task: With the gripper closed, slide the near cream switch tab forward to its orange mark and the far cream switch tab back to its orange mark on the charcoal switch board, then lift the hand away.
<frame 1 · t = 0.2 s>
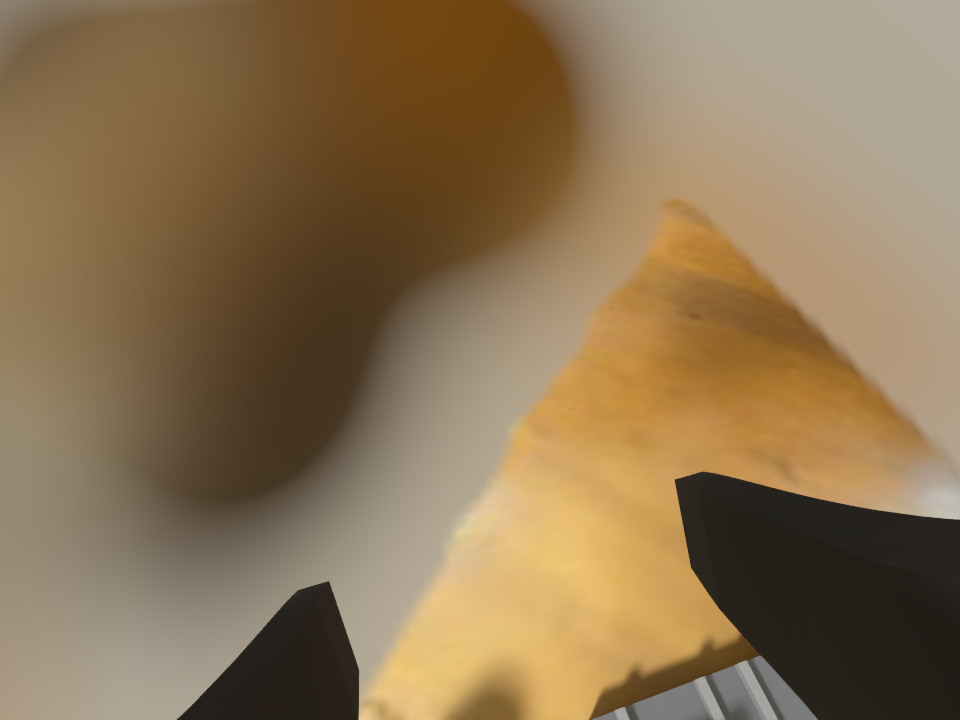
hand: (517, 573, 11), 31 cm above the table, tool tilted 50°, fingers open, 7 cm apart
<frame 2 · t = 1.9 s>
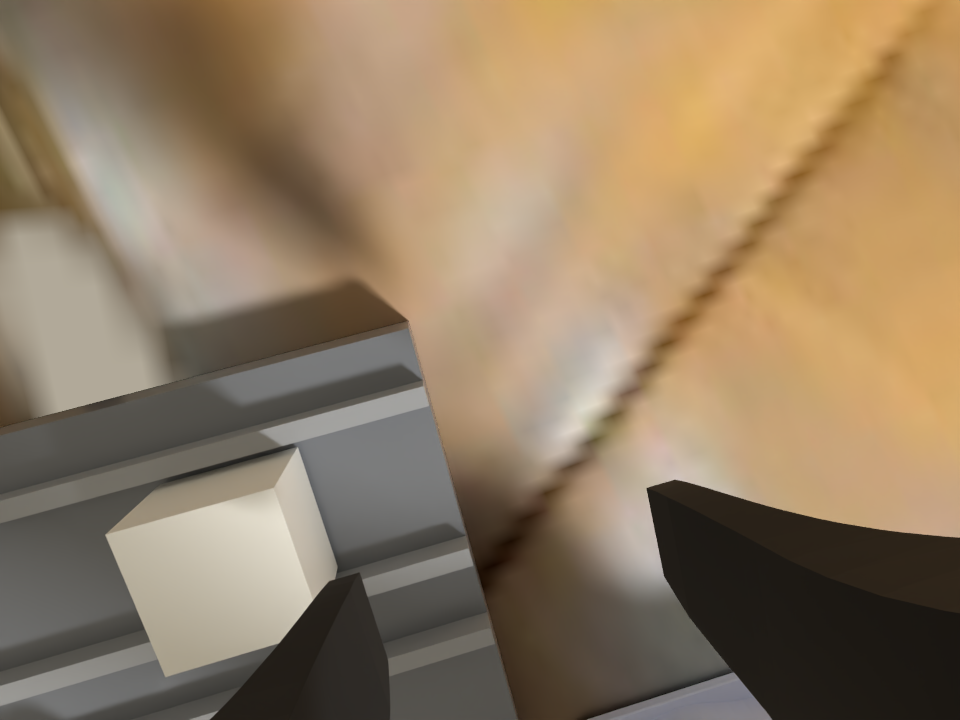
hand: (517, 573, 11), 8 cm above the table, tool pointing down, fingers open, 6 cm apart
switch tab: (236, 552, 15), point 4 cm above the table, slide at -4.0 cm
switch board: (190, 633, 20), on the table
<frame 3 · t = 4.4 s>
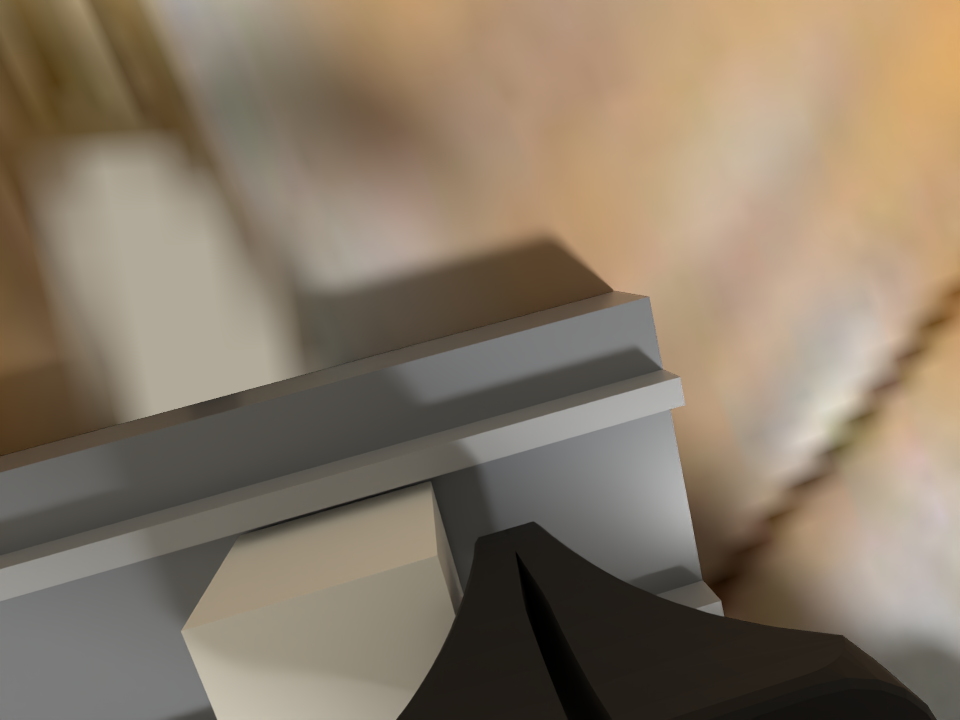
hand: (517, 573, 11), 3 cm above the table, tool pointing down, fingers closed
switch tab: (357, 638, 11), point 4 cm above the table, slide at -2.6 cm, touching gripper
switch board: (316, 705, 15), on the table
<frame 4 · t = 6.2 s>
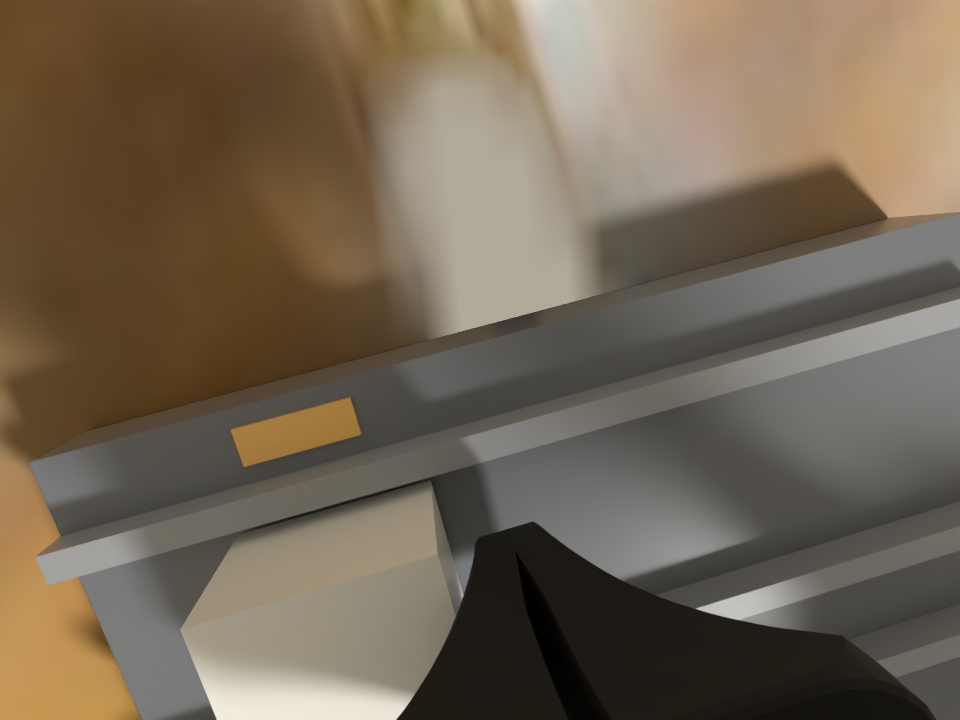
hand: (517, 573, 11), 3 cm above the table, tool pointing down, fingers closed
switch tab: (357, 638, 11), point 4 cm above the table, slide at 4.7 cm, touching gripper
switch board: (582, 622, 15), on the table
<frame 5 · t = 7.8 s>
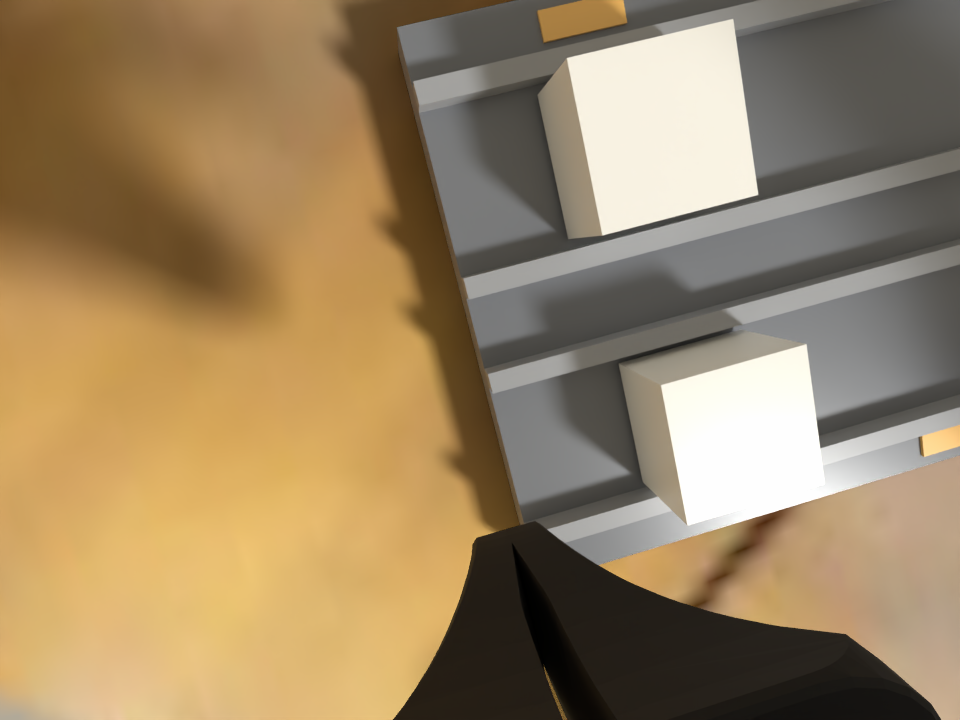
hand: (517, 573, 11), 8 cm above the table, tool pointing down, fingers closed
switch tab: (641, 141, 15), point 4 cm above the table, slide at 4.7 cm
switch board: (749, 250, 20), on the table
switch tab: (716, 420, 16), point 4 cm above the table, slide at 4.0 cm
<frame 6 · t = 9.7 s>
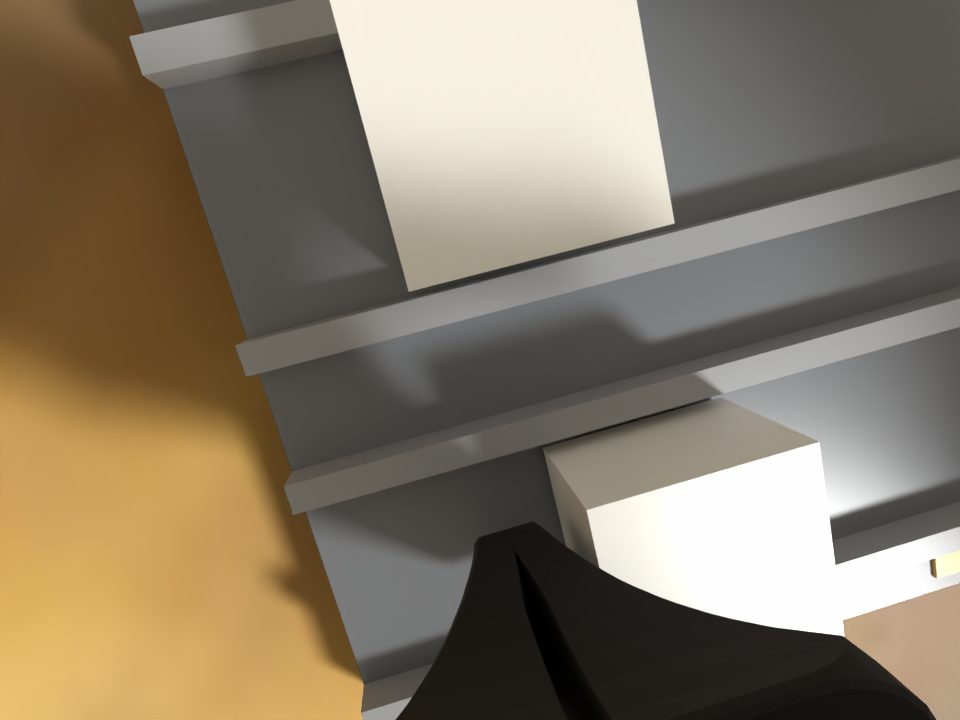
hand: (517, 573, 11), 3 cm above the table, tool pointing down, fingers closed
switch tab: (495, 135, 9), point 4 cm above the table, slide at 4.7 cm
switch board: (695, 289, 14), on the table
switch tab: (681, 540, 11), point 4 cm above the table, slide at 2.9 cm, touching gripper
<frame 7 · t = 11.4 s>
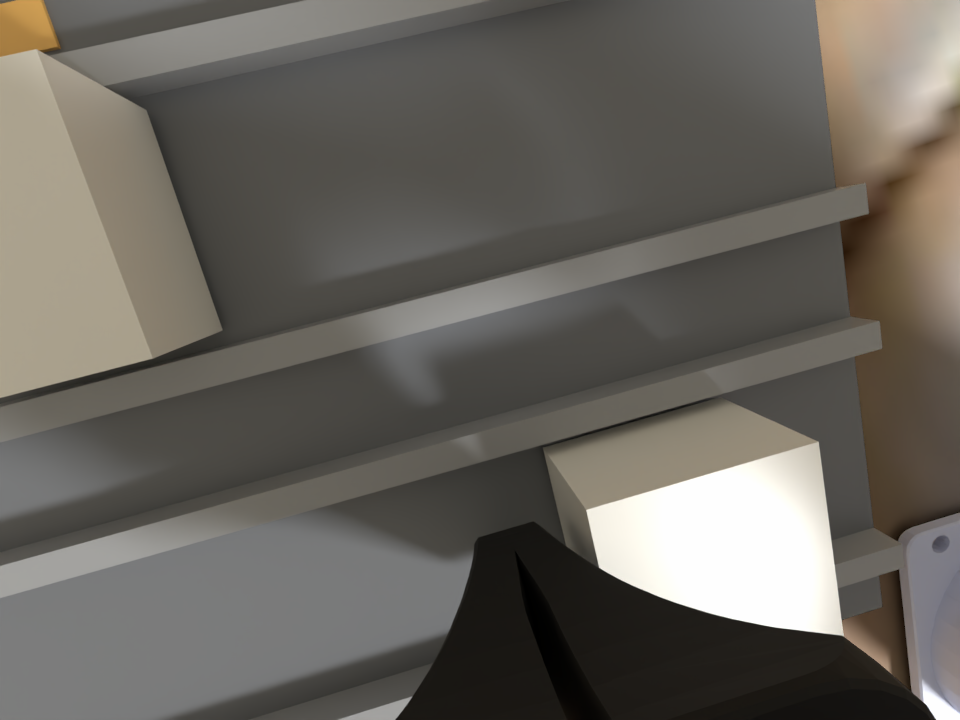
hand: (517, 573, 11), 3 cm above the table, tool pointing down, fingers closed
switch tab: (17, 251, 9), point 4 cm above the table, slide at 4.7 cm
switch board: (394, 370, 13), on the table
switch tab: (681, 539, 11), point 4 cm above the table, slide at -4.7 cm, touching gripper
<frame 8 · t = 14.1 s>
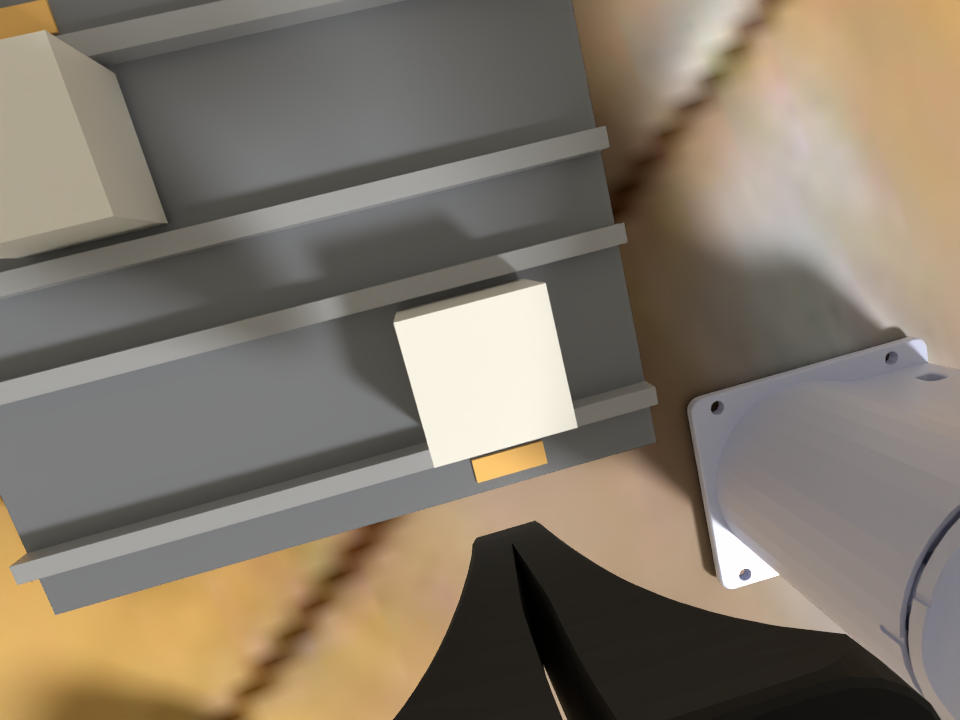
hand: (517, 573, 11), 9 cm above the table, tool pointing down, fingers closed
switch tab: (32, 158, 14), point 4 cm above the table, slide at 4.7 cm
switch board: (299, 267, 19), on the table
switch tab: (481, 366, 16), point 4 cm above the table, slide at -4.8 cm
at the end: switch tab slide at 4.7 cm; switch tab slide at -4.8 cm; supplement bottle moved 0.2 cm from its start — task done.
